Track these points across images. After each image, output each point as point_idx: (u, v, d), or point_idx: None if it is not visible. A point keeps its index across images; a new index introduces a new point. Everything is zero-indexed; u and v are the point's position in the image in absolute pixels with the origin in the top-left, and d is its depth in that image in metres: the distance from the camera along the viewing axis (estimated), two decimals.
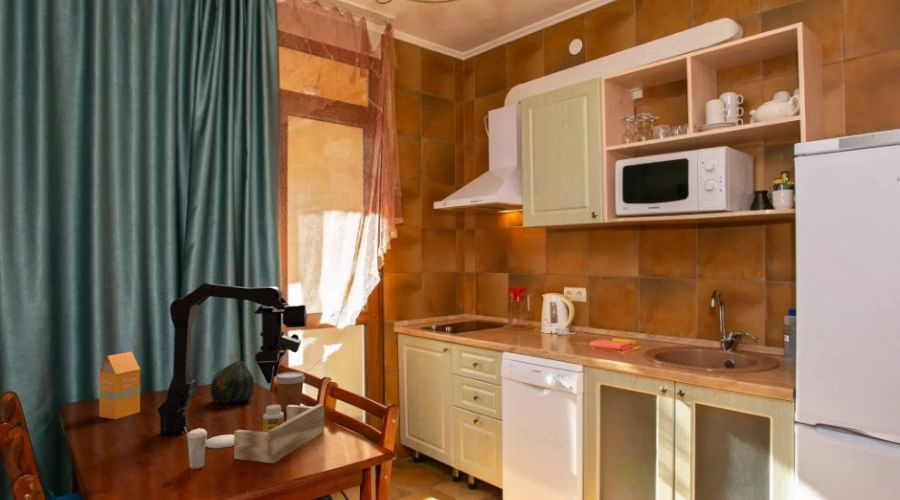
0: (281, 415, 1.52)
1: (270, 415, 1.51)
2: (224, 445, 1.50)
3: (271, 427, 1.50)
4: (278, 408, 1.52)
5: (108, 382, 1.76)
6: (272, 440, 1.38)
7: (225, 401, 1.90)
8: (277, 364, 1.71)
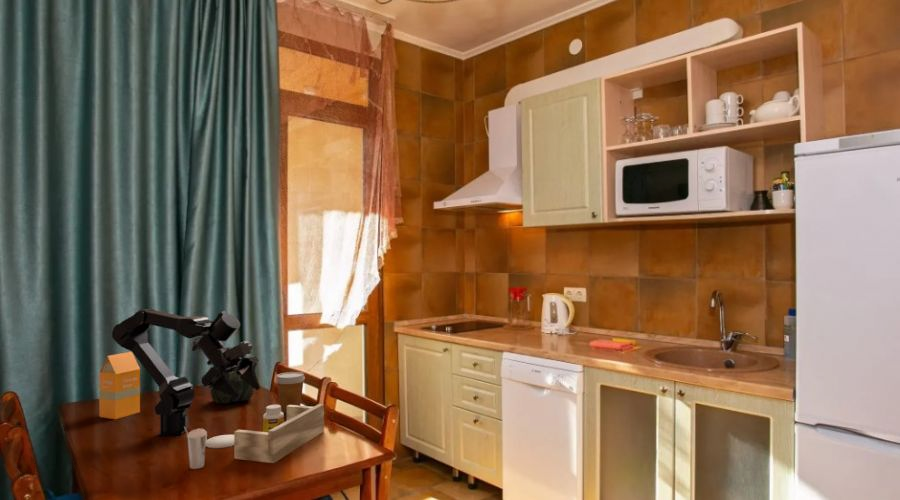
0: (281, 415, 1.52)
1: (270, 415, 1.51)
2: (224, 445, 1.50)
3: (271, 427, 1.50)
4: (278, 408, 1.52)
5: (108, 382, 1.76)
6: (272, 440, 1.38)
7: (225, 401, 1.90)
8: (253, 377, 1.60)
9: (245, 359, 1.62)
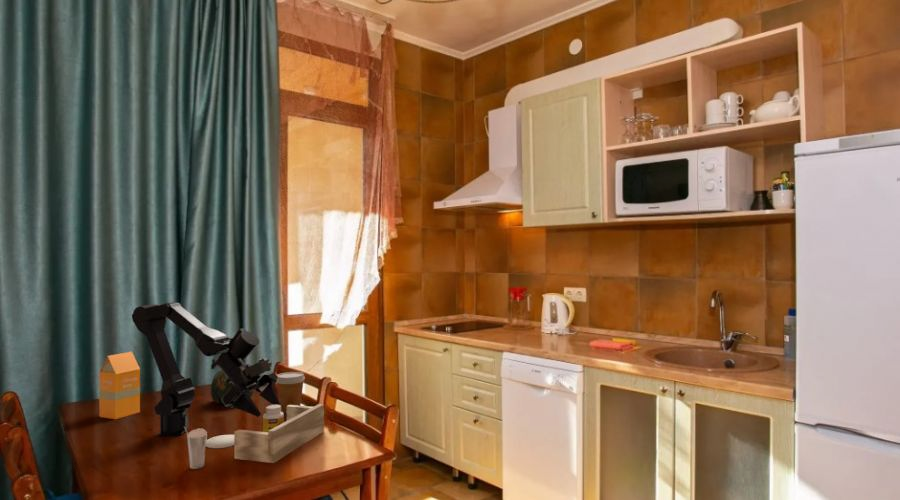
0: (281, 415, 1.52)
1: (270, 415, 1.51)
2: (224, 445, 1.50)
3: (271, 427, 1.50)
4: (278, 408, 1.52)
5: (108, 382, 1.76)
6: (272, 440, 1.38)
7: None
8: (273, 395, 1.58)
9: (264, 376, 1.60)
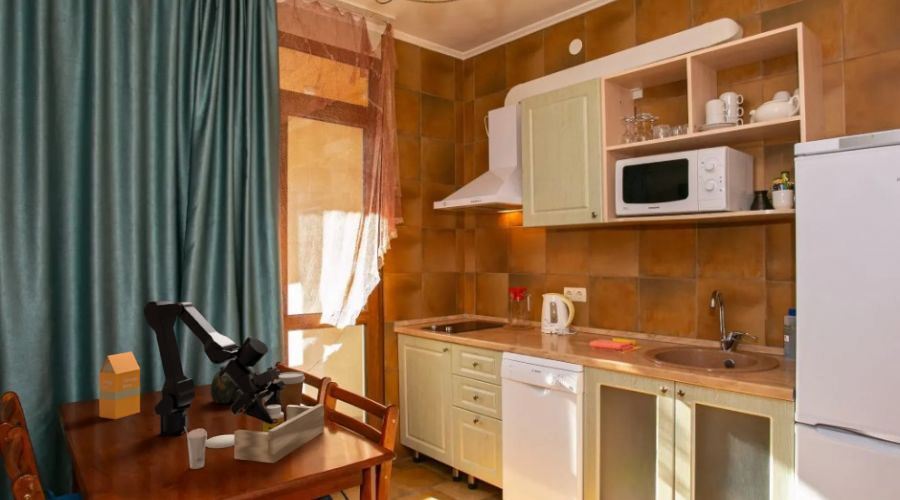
0: (281, 415, 1.52)
1: (270, 415, 1.51)
2: (224, 445, 1.50)
3: (271, 427, 1.50)
4: (278, 408, 1.52)
5: (108, 382, 1.76)
6: (272, 440, 1.38)
7: (225, 401, 1.90)
8: None
9: (272, 384, 1.59)
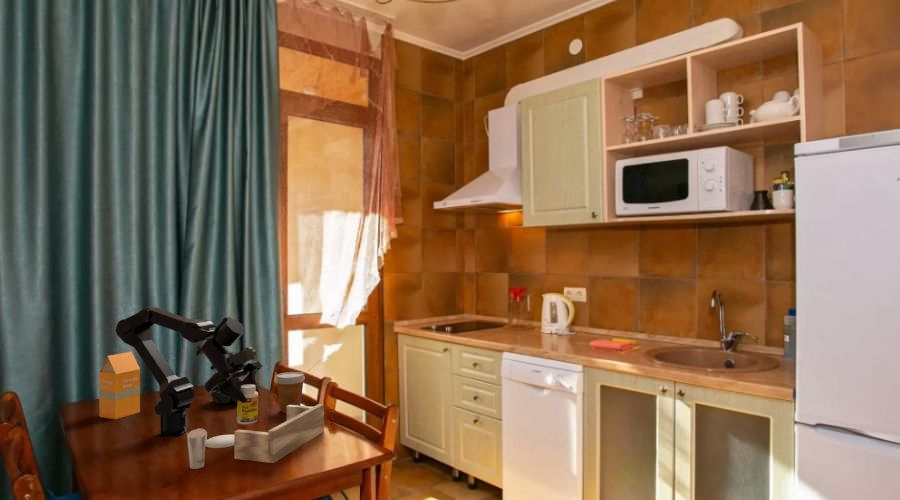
0: (255, 394, 1.54)
1: (244, 394, 1.53)
2: (224, 445, 1.50)
3: (245, 406, 1.52)
4: (253, 388, 1.54)
5: (108, 382, 1.76)
6: (272, 440, 1.38)
7: (225, 401, 1.90)
8: None
9: (249, 364, 1.61)
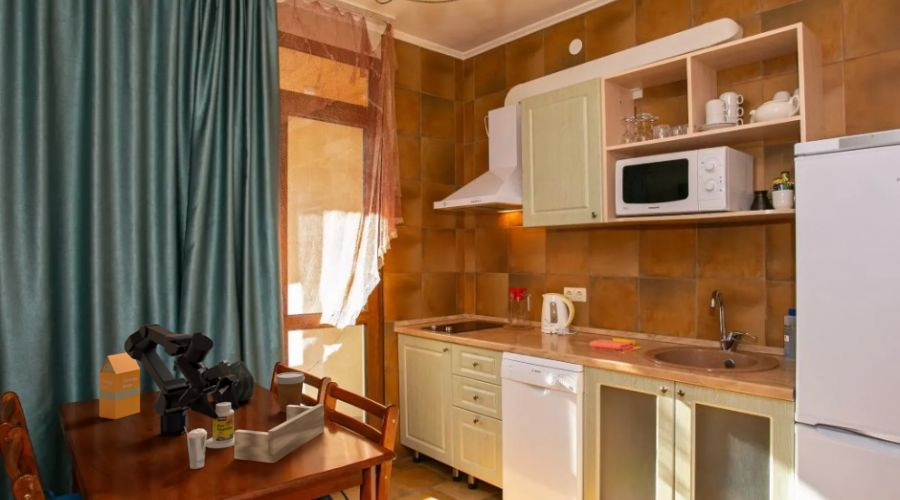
0: (231, 412, 1.53)
1: (219, 412, 1.52)
2: (224, 445, 1.50)
3: (220, 424, 1.51)
4: (228, 406, 1.53)
5: (108, 382, 1.76)
6: (272, 440, 1.38)
7: None
8: (232, 397, 1.58)
9: (225, 378, 1.60)
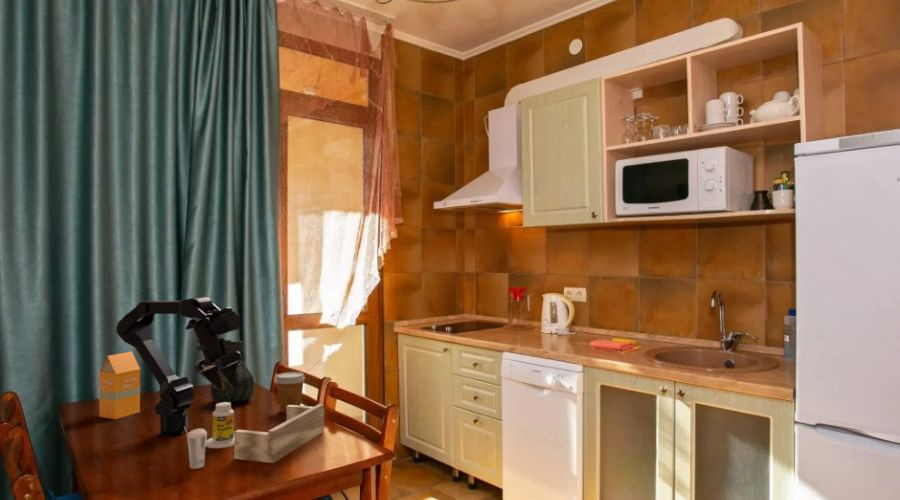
0: (230, 412, 1.53)
1: (219, 412, 1.52)
2: (224, 445, 1.50)
3: (220, 424, 1.51)
4: (227, 406, 1.53)
5: (108, 382, 1.77)
6: (272, 440, 1.38)
7: (225, 401, 1.90)
8: (218, 377, 1.64)
9: None
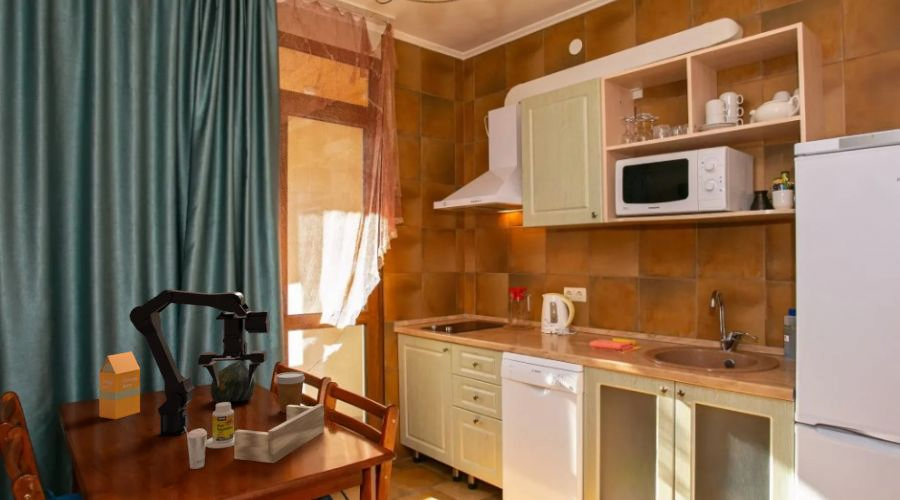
0: (230, 412, 1.53)
1: (219, 412, 1.52)
2: (224, 445, 1.50)
3: (220, 424, 1.51)
4: (227, 406, 1.53)
5: (108, 382, 1.76)
6: (272, 440, 1.38)
7: (225, 401, 1.90)
8: (217, 374, 1.65)
9: (216, 353, 1.66)
